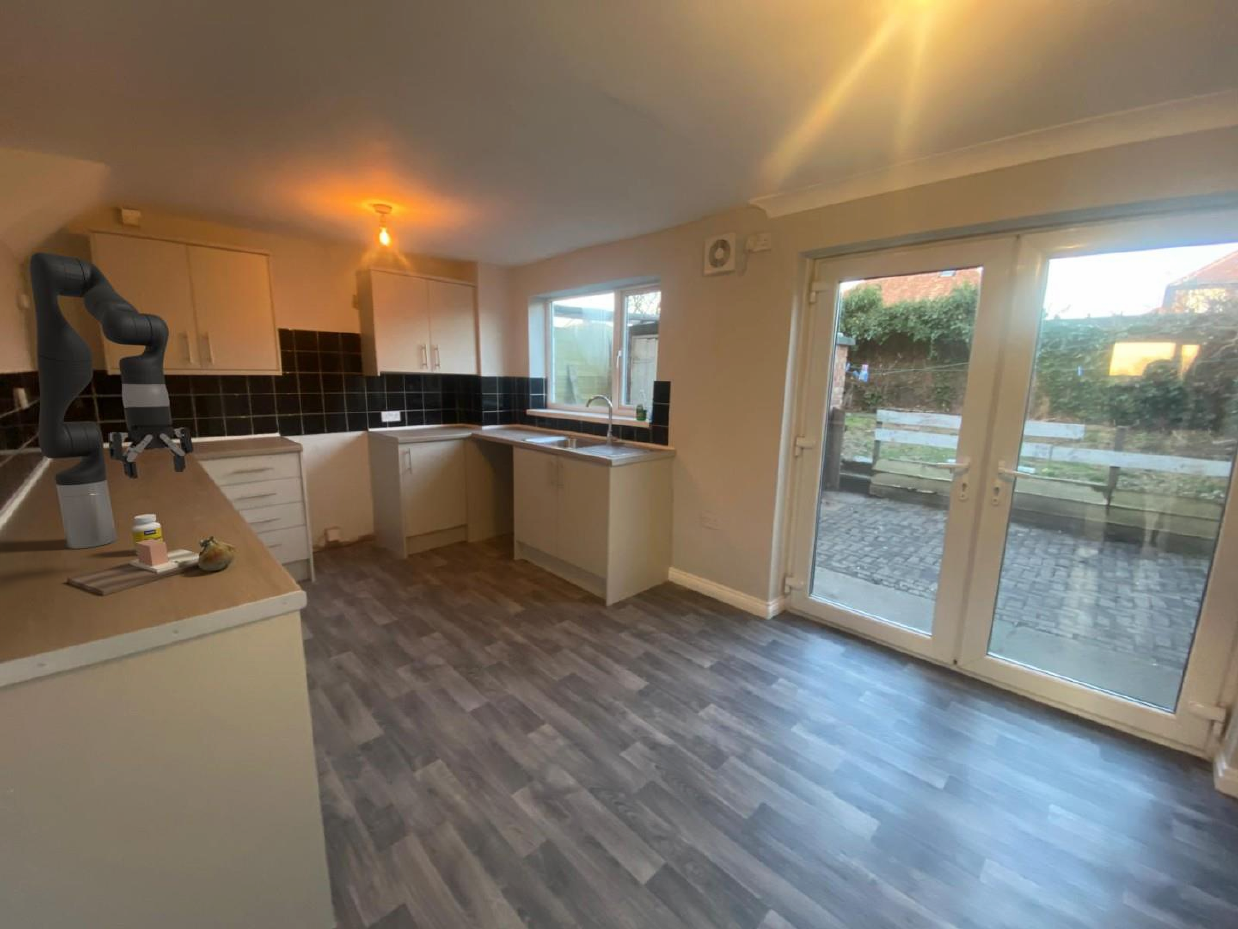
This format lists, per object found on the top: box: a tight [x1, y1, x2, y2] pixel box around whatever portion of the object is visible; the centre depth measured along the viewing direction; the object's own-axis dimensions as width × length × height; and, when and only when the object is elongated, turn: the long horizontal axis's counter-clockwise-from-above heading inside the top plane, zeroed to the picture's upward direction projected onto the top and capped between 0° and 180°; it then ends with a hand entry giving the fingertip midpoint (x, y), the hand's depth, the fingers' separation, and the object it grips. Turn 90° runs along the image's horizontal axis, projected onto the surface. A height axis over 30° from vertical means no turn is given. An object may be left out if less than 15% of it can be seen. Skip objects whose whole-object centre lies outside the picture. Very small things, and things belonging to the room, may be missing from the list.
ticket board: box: [66, 548, 201, 596], centre depth 115 cm, size 16×20×2 cm
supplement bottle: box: [131, 513, 164, 556], centre depth 128 cm, size 5×5×10 cm
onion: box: [198, 535, 237, 572], centre depth 117 cm, size 8×8×8 cm
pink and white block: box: [129, 539, 179, 573], centre depth 117 cm, size 12×4×6 cm, turn 66°
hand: (156, 474), depth 114 cm, fingers open, 8 cm apart
